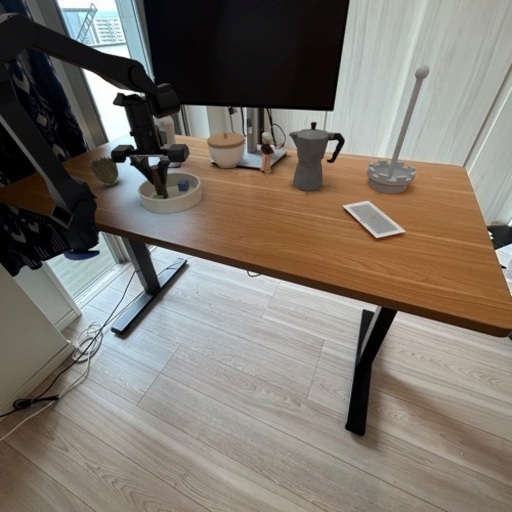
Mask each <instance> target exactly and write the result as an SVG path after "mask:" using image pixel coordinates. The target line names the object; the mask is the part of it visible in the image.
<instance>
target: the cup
mask: <svg viewBox="0 0 512 512" xmlns="http://www.w3.org/2000/svg"><path fill="white" fill-rule="evenodd" d="M88 166H89V167H90V169H91V170H92V172H93V175H94V176H95V177H96V179H97V180H98V181H100V182H101V183H104V185H105V186H106V187H107V188H110V187H114V186H116V185H117V184H118V181H117V180H118V178H119V169H118V165H117V163H113V161H112V159H111V157H109V156H107V157H105V156H104V157H100V158H99V159H98V158H95V160H94V159H92V160H90V161H89V163H88Z"/></svg>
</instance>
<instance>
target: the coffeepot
mask: <svg viewBox="0 0 512 512" xmlns="http://www.w3.org/2000/svg"><path fill="white" fill-rule="evenodd" d="M317 125H318V122H316V121H312V122H310V128H306V129H305V128H304V129H300V130H297V131H296V130H295V131H291V132H289V134H288V136H289V137H290V138H291V140H292V142H293V144H294V145H295V148H296V156H297V159H298V160H297V163H296V167H295V171H294V175H293V180H292V184H293V187H294V188H295V189H297V190H300V191H304V192H312V191H313V192H315V191H317V190H319V189H320V188H322V187H323V183H324V182H323V181H324V180H323V165H322V160H323V159H324V157H325V154H326V151H327V147H328V145H329V144H328V143H329V142H332V141H337V144H336V145H335V150H334V151H333V152H332V154H331V155H332V156H331V158H330V159H326V163H327V164H334V163H335V162H336V160H337V158H338V156H339V154H340V153H341V150H342V149H343V147H344V145H345V144H346V139H345V138H344V136H343V135H342V133H341V132H332V131H331V132H328V131H327V130H324V129H319V128H317Z"/></svg>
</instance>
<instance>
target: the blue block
mask: <svg viewBox="0 0 512 512" xmlns="http://www.w3.org/2000/svg"><path fill="white" fill-rule="evenodd" d="M177 185H178V189H179V191H186V192H187V190H188V189H189V184H188V180H180V181H179V182H178V183H177Z"/></svg>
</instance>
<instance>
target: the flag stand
mask: <svg viewBox="0 0 512 512" xmlns="http://www.w3.org/2000/svg"><path fill="white" fill-rule="evenodd" d="M429 74H430V66H429V65H426V64H422V65H420V66H418V67H417V68H416V70H415V72H414V77H415V79H416V80H415V83H414V86H413V89H412V92H411V95H410V99H409V102H408V105H407V108H406V111H405V115H404V118H403V121H402V126H401V127H400V131H399V135H398V137H397V141H396V144H395V147H394V151H393V154H392V157H391V159H390V162H388V161H389V160H388V159H387V158H383V159H378V160H377V161H378V162H377V163H376V161H373V160H372V161H370V163H369V164H368V167H367V170H366V175H367V177H368V180H367V185H368V186H369V187H370V188H371V189H372V190H375V191H377V192H380V193H385V194H400V193H403V192H405V191H406V190H407V188H408V185H409V184H411V183H412V182H414V180H415V177H416V175H417V171H416V169H417V168H416V167H415V166H414V165H413V164H408V165H407V166H405V165H404V164H405V161H402V160H399V157H400V153H401V150H402V147H403V144H404V141H405V138H406V135H407V131H408V129H409V125H410V122H411V121H412V116H413V113H414V110H415V107H416V104H417V102H418V101H417V100H418V98H419V94H420V91H421V89H422V87H423V86H422V85H423V82H424V80H425V79H426V78H427V77H428V76H429Z"/></svg>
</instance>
